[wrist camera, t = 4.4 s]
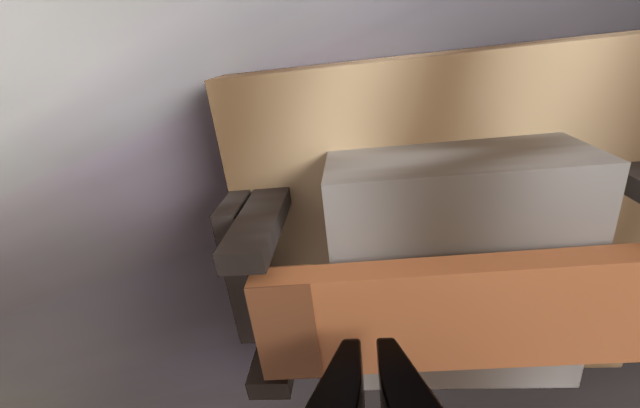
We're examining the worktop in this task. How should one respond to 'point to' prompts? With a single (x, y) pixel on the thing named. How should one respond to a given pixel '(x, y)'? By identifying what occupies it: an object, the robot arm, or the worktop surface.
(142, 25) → the worktop surface
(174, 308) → the worktop surface
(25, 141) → the worktop surface
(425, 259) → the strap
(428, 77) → the clamp base
